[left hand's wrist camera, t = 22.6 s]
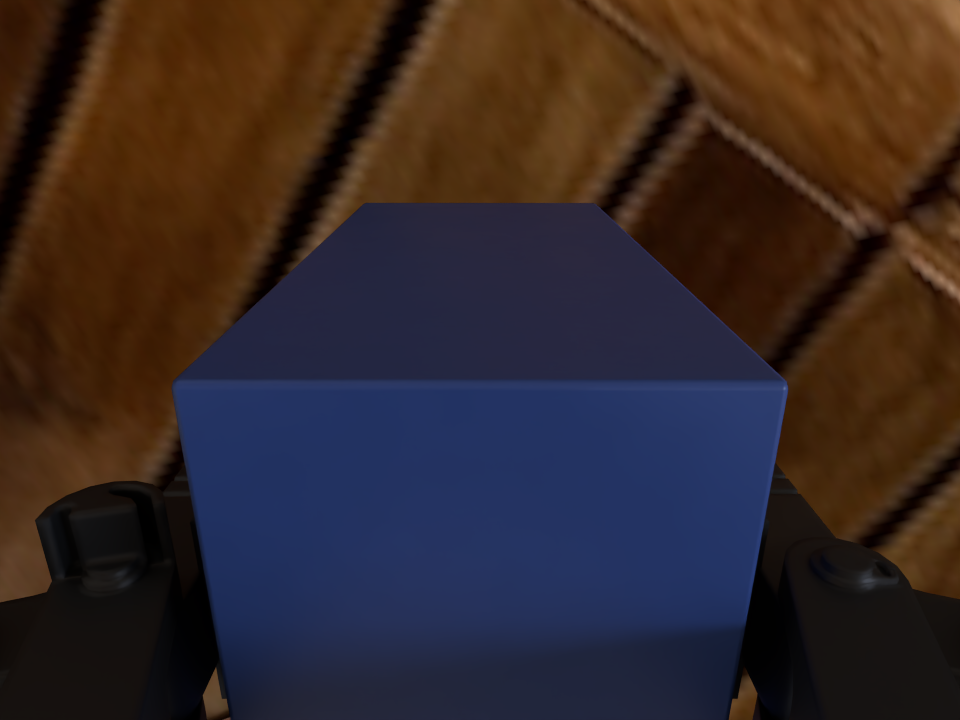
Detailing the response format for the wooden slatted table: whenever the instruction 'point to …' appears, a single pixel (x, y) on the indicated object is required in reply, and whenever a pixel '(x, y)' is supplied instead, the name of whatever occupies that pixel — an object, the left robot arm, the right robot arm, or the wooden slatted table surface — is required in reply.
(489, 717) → the brick
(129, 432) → the wooden slatted table surface
